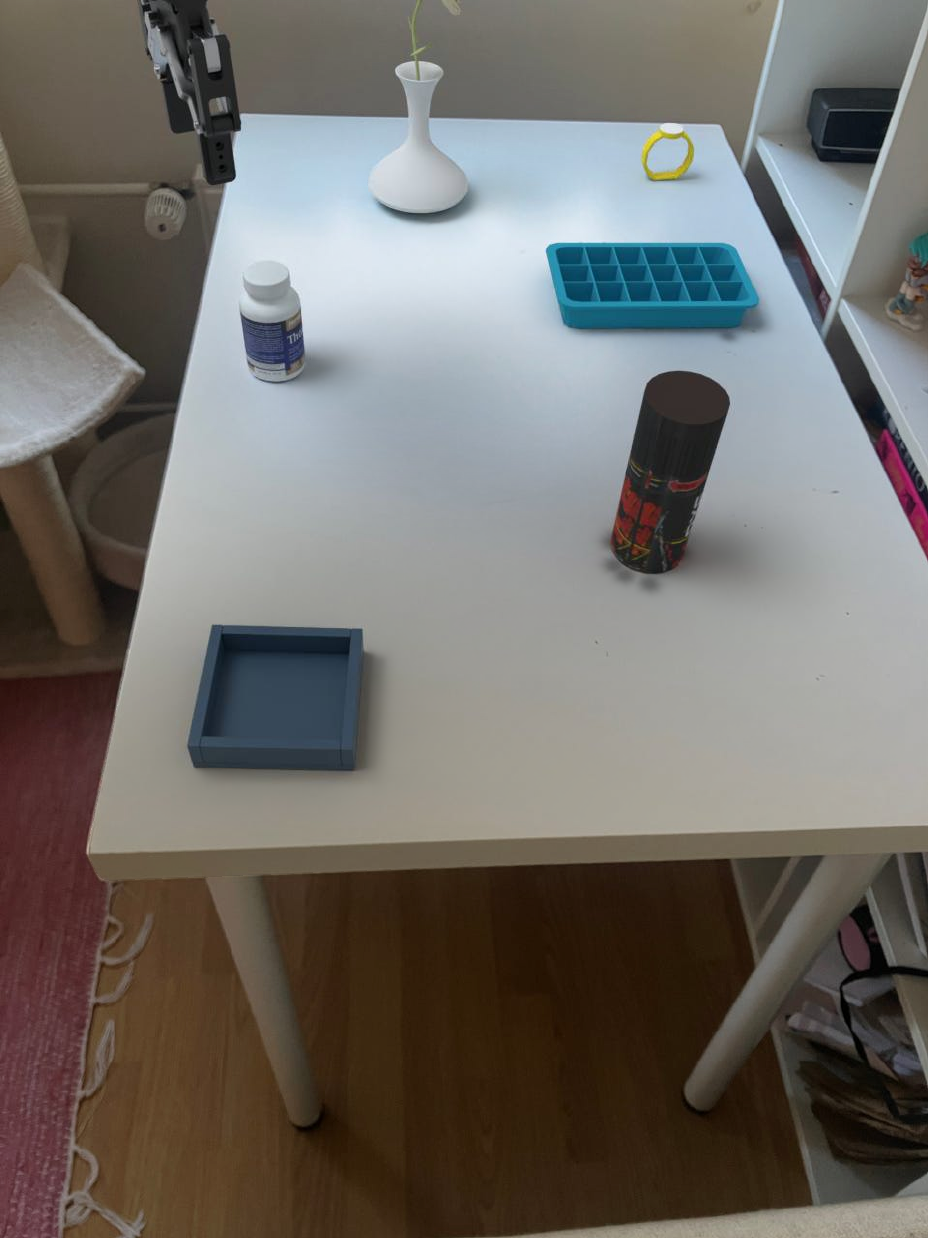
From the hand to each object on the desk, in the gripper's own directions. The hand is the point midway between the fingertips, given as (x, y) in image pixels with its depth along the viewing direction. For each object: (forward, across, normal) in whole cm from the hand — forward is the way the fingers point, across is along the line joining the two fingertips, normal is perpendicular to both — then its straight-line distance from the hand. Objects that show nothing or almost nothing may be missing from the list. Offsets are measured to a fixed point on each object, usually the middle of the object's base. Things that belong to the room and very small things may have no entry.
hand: (202, 155), depth 75 cm
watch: (+22, -18, +59) cm, 66 cm away
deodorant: (+22, +33, +23) cm, 45 cm away
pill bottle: (+22, -2, +4) cm, 22 cm away
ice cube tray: (+22, +3, +43) cm, 48 cm away
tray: (+21, +35, -9) cm, 42 cm away
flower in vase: (+22, -25, +30) cm, 45 cm away
